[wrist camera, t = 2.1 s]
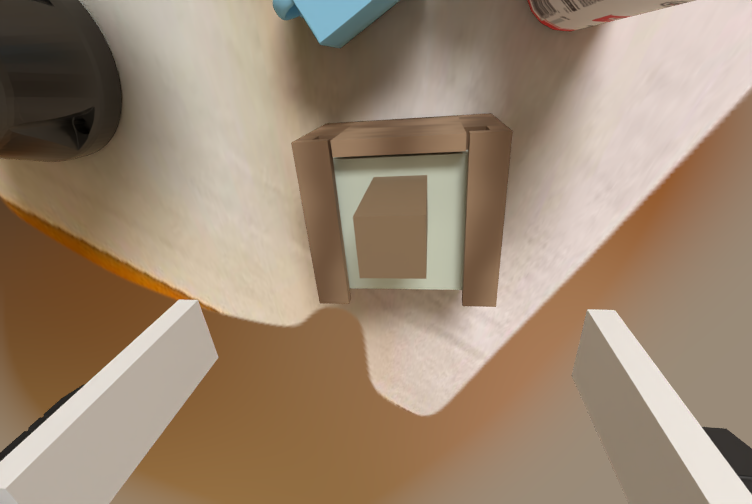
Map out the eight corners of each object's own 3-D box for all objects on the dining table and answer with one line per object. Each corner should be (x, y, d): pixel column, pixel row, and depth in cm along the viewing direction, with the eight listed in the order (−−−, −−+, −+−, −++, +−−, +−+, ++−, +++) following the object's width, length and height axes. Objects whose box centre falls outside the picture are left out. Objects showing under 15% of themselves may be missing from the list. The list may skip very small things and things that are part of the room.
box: (343, 253, 35) (319, 303, 27) (325, 123, 29) (291, 142, 22) (481, 253, 33) (495, 306, 25) (491, 113, 27) (512, 130, 20)
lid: (342, 281, 29) (314, 351, 22) (325, 156, 24) (282, 193, 17) (472, 282, 27) (487, 358, 20) (480, 149, 23) (502, 187, 16)
